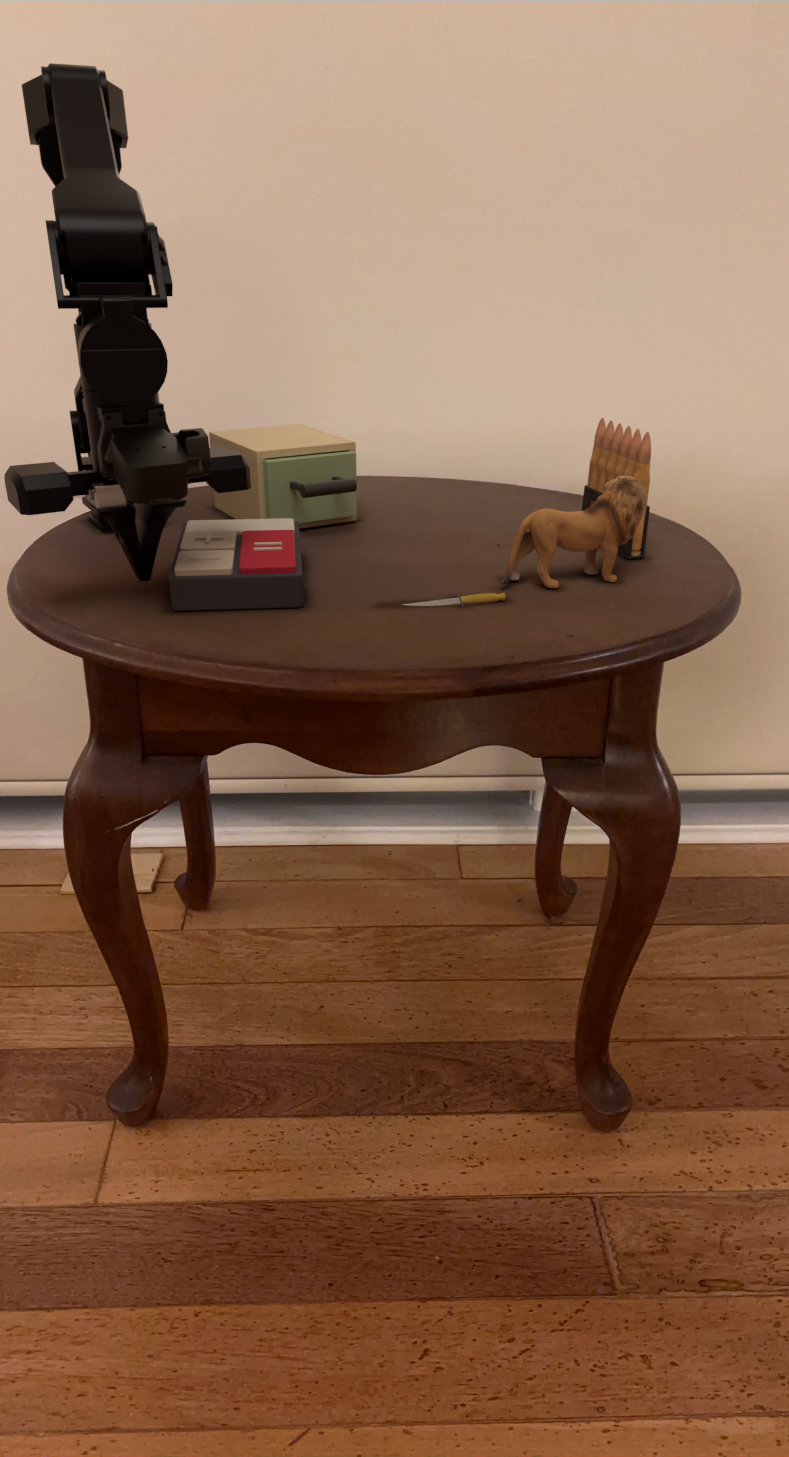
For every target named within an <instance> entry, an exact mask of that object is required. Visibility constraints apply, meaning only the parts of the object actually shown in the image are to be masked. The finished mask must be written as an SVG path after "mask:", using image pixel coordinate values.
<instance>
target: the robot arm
mask: <svg viewBox="0 0 789 1457" xmlns="http://www.w3.org/2000/svg"><path fill="white" fill-rule="evenodd" d="M40 71H41V74H40V75H38V76H36V77H34V78H31V79H30V80H28V81H25V82H24V83H22V85H21V90H22V98H23V104H24V111H25V118H26V119H25V120H26V125H27V132H28V139H29V144H30V145H31V146H38V150H39V151H38V152H39V156H40V164H41V167H42V169H43V170H44V172H45V173H46V175H47V176H48V178H49V180H50V181H51V182H52V184H53V186H54V187H53V188H52V189H51V198H52V203H53V204H52V205H53V206H52V207H53V213H54V220H51V219H50V220H47V219H45V227H46V235H47V241H48V248H49V254H50V262H51V267H52V275H53V283H54V289H55V296H56V302H57V309H58V310H61V309H62V310H66V309H67V310H69V309H70V310H71V309H73V310H74V309H75V310H76V309H77V311H78V312H77V313H78V314H77V316H76V318H75V323H73V325H72V326H73V331H74V336H75V337H74V338H75V339H74V340H75V345H76V352H77V360H78V367H79V374H80V375H79V378H78V379H77V380H78V381H77V383H76V385H75V388H74V390H73V395H74V403H75V409H76V410H69V417H70V424H71V431H72V432H71V433H72V439H73V445H74V451H75V458H76V465H77V471H76V470H75V471H67V470H65V469H64V468H62V466H60V465H59V464H58V463H56V462H55V461H49V462H48V461H47V462H38V463H26V464H15V465H9V467H8V469H6V471H5V473H4V485H5V486H4V487H5V491H6V496H7V501H8V502H9V504H10V505H11V506H13V508H14V509H15V510H16V511H17V512H18V513H19V514H20V515H22V516H35V515H36V516H37V515H45V514H53V513H62V512H66V510H67V509H68V508H69V507H70V506H71V504H72V503H73V502H74V500H75V498H74V497H79V496H82V497H81V501H82V505H84V506H85V507H86V508H87V509H88V510H90V512H91V513H90V514H88V520H89V521H90V522H92V523H93V524H94V525H95V526H96V527H97V528H99V529H100V530H101V531H102V532H111V531H112V533H113V534H114V536H115V538H116V540H117V541H118V544H119V545H120V547H121V550H122V551H123V553H124V555H125V557H126V560H127V561H128V563H129V565H130V567H131V569H132V571H133V573H134V575H135V577H136V578H137V580H138V581H139V582H140V583H143V582H149V581H150V580H151V577H152V574H153V569H154V565H155V561H156V558H157V555H158V554H157V553H158V549H159V544H160V540H161V537H162V534H163V531H164V529H165V526H166V524H167V521H168V519H169V518H170V517H171V515H172V514H173V513H174V511H176V510H177V509H179V508H184V507H186V505H187V499H185V498H186V497H187V496H188V494H189V485H190V484H198V483H206V485H208V486H209V487H210V488H211V489H212V490H213V491H214V490H215V491H216V492H217V493H225V492H233V491H242V490H248V489H250V488H251V480H250V468H249V465H248V463H247V460H246V459H245V458H244V457H243V456H242V455H241V454H238V453H236V452H234V451H232V450H229V449H227V448H225V447H223V446H219V447H210V439H209V434H207V433H206V431H205V430H204V428H203V427H199V428H198V427H195V428H184V429H179V431H178V432H177V431H176V432H171V429H170V427H169V425H168V423H167V414H166V410H165V407H164V406H165V405H164V403H162V402H160V394H159V391H160V390H161V389H162V387H163V385H164V384H165V381H166V378H167V374H168V366H169V365H168V362H169V361H168V360H169V359H168V354H167V350H166V348H165V346H164V343H163V341H162V339H161V338H160V337H159V335H158V334H157V332H156V331H155V330H154V329H153V327H152V323H151V322H150V320H149V318H148V309H168V308H169V303H168V297H173V279H172V275H171V269H170V264H169V259H168V254H167V249H166V244H165V240H164V238H163V237H161V235H159V231H158V230H159V229H158V226H157V225H156V224H155V222H154V221H147V218H146V212H145V210H144V206H143V202H142V198H141V194H140V192H139V191H138V190H137V189H135V188H134V187H133V186H131V185H129V183H127V182H125V181H124V180H123V179H121V177H120V174H121V171H122V166H123V165H122V155H121V149H127V146H128V142H129V133H128V132H129V131H128V123H127V115H126V114H127V113H126V106H125V98H124V97H125V96H124V91H123V89H122V88H120V87H119V86H117V85H116V84H114V83H113V82H111V81H109V80H108V78H107V75H106V70H105V69H99V68H98V67H97V66H96V65H83V64H68V63H67V64H66V63H52V62H51V63H49V64H48V65H47V66H42V65H41V66H40ZM62 276H63V279H62ZM150 276H151V280H152V283H153V289H154V294H153V289H152V285H151V280H150ZM62 280H63V281H62ZM63 283H64V284H63ZM63 285H64V288H63ZM64 289H65V290H66V291H67V292H68V293H69V294H64V293H65V292H64ZM83 454H87V456H82V455H83Z"/></svg>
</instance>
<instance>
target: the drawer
mask: <svg viewBox="0 0 789 1457" xmlns="http://www.w3.org/2000/svg"><path fill="white" fill-rule="evenodd" d="M263 473H264V491H265V508H266V519H280V518H292V519H294V521H298V522H299V524H300V523H307V522H314V521H321V520H329V519H336V518H343V517H350V516H356V517H358V516H357V515H358V501H357V499H358V498H357V497H358V496H357V494H358V490H357V488H358V484H357V452H356V453H355V452H352V451H346V452H339V451H335V452H325V453H315V454H305V455H295V456H286V457H276V458H266V459H264V460H263Z"/></svg>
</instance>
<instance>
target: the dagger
mask: <svg viewBox="0 0 789 1457" xmlns="http://www.w3.org/2000/svg"><path fill="white" fill-rule="evenodd" d="M506 600H507V594H506V593H505V592H502V593H496V592H489V593H488V592H487V593H475V594H469V595H463V596H461V595H460V594H459V593H457V594H456V597H453V598H452V597H451V598H443V599H436V600H435V599H433V600H427V601H418V602H409V603H402V604H400V605H401V606H408V607H409V606H410V607H437V606H459V605H460V606H461V608H462V607H464V605H475V604H476V605H478V604H480V605H481V604H490V603H497V602H499V601H502V602H505V601H506Z"/></svg>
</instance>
